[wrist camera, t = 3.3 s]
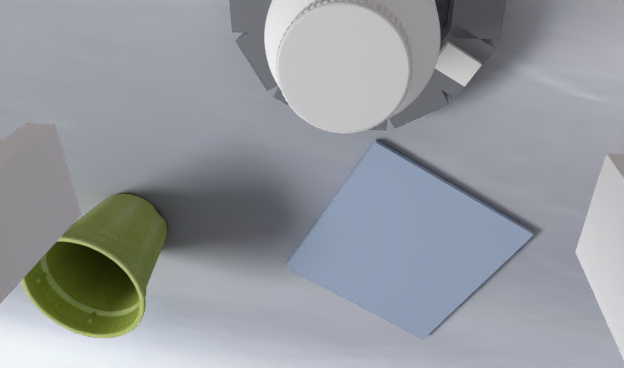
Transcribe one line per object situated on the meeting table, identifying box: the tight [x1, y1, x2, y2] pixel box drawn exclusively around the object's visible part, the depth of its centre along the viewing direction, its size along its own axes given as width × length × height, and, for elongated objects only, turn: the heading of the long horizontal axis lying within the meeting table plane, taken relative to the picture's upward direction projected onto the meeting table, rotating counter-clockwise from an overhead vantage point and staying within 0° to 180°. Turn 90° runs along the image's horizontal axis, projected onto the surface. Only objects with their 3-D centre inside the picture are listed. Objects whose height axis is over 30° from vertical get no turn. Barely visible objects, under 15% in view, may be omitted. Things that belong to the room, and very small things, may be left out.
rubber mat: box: [285, 140, 534, 339], centre depth 42 cm, size 14×14×1 cm
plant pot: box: [21, 194, 167, 338], centre depth 41 cm, size 9×9×9 cm
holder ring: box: [229, 0, 506, 130], centre depth 32 cm, size 16×16×3 cm
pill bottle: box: [264, 0, 440, 133], centre depth 26 cm, size 8×8×15 cm
